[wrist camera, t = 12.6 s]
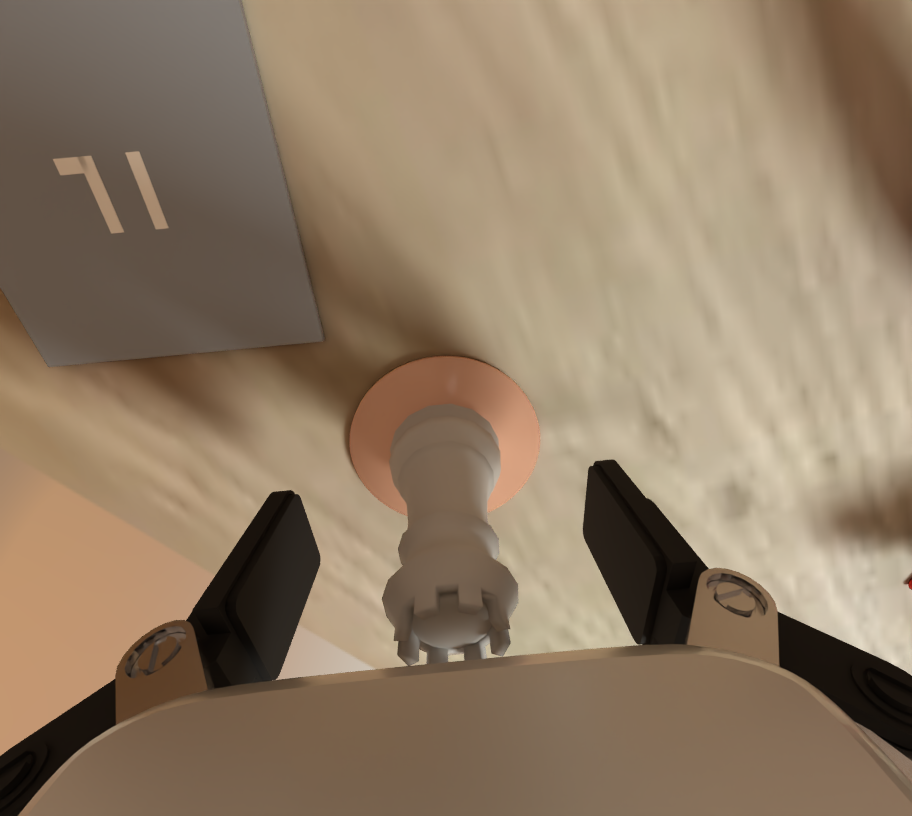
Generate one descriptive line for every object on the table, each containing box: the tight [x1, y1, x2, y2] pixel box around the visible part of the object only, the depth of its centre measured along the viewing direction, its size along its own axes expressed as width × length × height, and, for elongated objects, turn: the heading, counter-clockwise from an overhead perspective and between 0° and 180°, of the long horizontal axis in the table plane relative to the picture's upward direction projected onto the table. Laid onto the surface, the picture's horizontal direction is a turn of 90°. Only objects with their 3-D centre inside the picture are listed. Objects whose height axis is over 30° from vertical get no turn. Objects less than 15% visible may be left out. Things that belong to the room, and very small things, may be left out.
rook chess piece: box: [382, 404, 518, 666], centre depth 11 cm, size 4×4×8 cm
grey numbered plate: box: [0, 0, 325, 367], centre depth 11 cm, size 10×10×1 cm
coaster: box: [350, 356, 540, 516], centre depth 15 cm, size 8×8×1 cm
